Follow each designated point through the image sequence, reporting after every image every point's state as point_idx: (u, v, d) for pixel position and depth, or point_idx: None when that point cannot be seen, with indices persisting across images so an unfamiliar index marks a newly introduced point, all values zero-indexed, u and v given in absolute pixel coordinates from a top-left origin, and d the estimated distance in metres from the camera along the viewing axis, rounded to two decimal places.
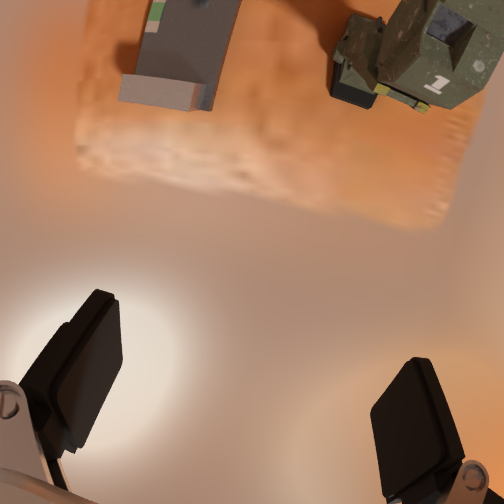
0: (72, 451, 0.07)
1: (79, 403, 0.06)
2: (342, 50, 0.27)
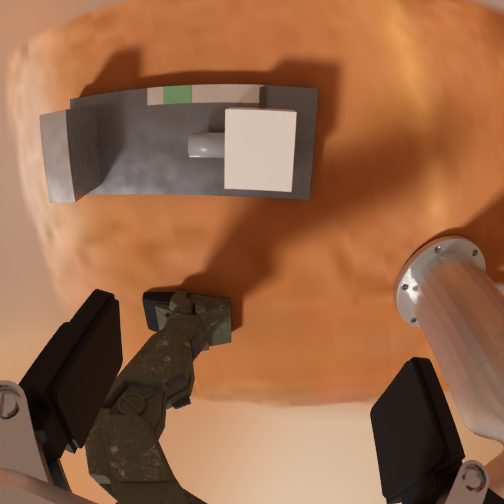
0: (72, 451, 0.07)
1: (79, 403, 0.06)
2: (178, 310, 0.33)
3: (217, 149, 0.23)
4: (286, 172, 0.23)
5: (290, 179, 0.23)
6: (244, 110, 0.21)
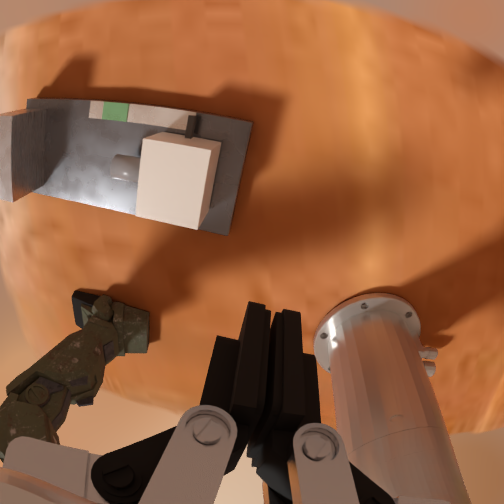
0: None
1: None
2: (98, 315, 0.32)
3: (135, 175, 0.23)
4: (194, 210, 0.23)
5: (197, 217, 0.23)
6: (160, 142, 0.21)
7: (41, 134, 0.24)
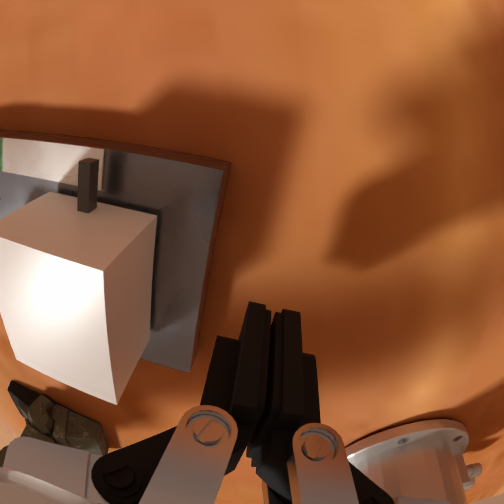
0: None
1: None
2: (35, 425, 0.19)
3: None
4: (101, 377, 0.09)
5: (111, 389, 0.10)
6: (8, 240, 0.07)
7: None
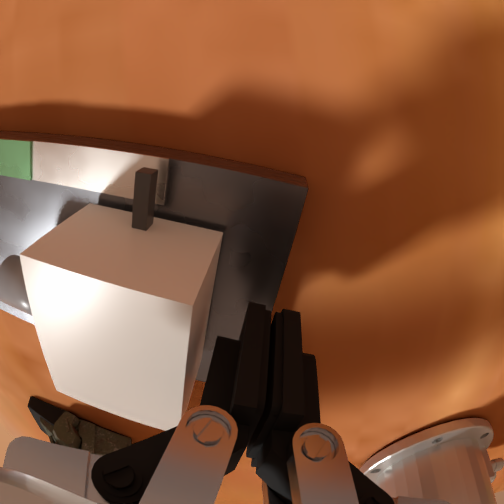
0: None
1: None
2: (61, 443, 0.18)
3: None
4: (167, 409, 0.09)
5: (177, 420, 0.09)
6: (57, 268, 0.07)
7: None
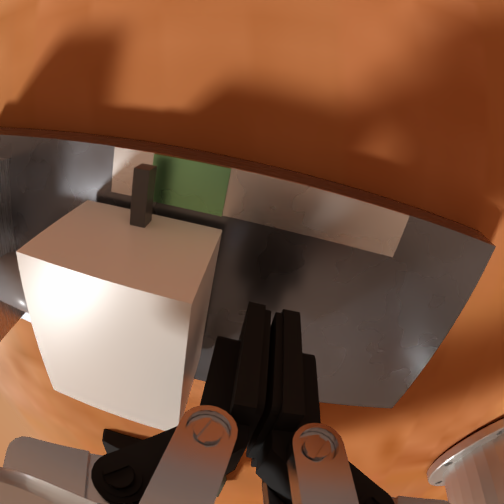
0: None
1: None
2: None
3: None
4: (164, 409, 0.09)
5: (175, 420, 0.09)
6: (53, 265, 0.07)
7: (4, 217, 0.11)
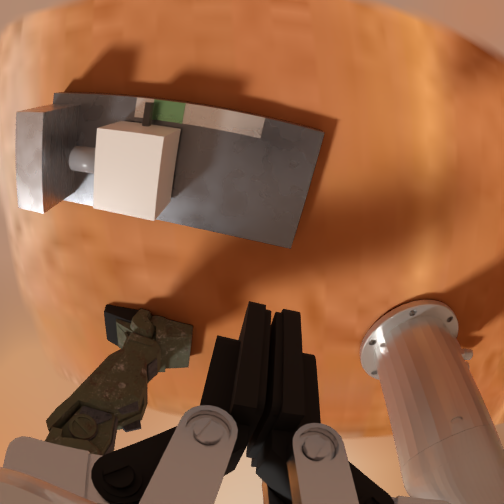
0: None
1: None
2: (138, 332, 0.31)
3: (93, 166, 0.21)
4: (149, 200, 0.21)
5: (153, 208, 0.21)
6: (114, 130, 0.19)
7: (73, 134, 0.22)
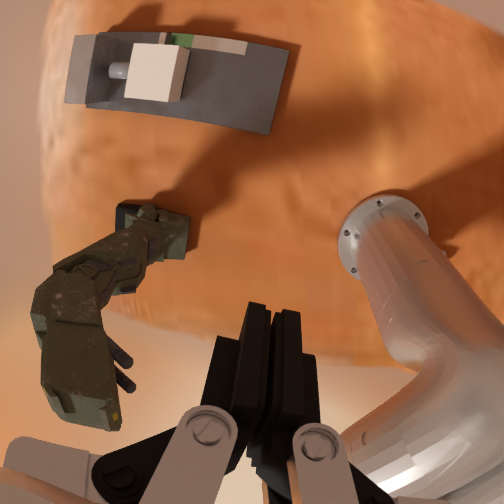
0: None
1: None
2: (144, 216, 0.37)
3: (126, 71, 0.28)
4: (165, 87, 0.28)
5: (168, 92, 0.28)
6: (145, 44, 0.26)
7: (111, 58, 0.29)
